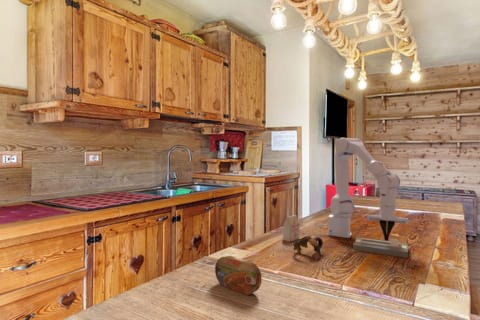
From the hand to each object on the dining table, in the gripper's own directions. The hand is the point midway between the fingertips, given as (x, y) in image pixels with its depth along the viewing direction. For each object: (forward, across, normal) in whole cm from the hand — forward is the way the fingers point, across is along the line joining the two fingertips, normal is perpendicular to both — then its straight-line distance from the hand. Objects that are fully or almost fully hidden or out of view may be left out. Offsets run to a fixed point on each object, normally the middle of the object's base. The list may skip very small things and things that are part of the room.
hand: (386, 240), depth 127 cm
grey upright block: (+4, -37, -4) cm, 37 cm away
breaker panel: (+4, -2, 0) cm, 4 cm away
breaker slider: (+2, +3, 0) cm, 3 cm away
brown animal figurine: (+4, -25, -20) cm, 32 cm away
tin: (+4, -35, -59) cm, 69 cm away
